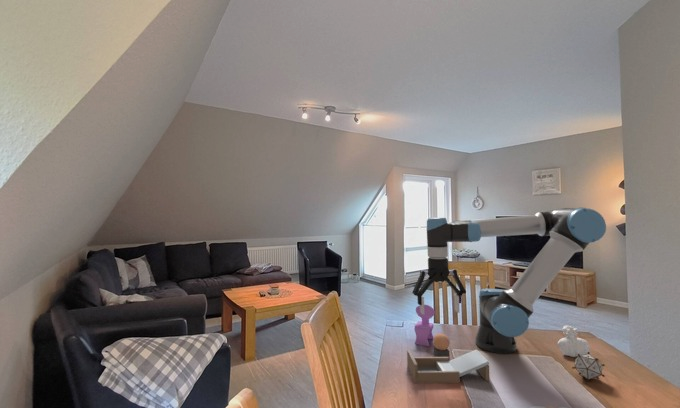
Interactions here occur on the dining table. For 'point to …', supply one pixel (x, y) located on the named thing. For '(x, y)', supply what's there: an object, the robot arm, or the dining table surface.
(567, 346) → the bust
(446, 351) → the square sleeve
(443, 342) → the ball
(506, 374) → the dining table surface
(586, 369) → the game die
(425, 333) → the toy chair
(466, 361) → the ramp with walled tray
